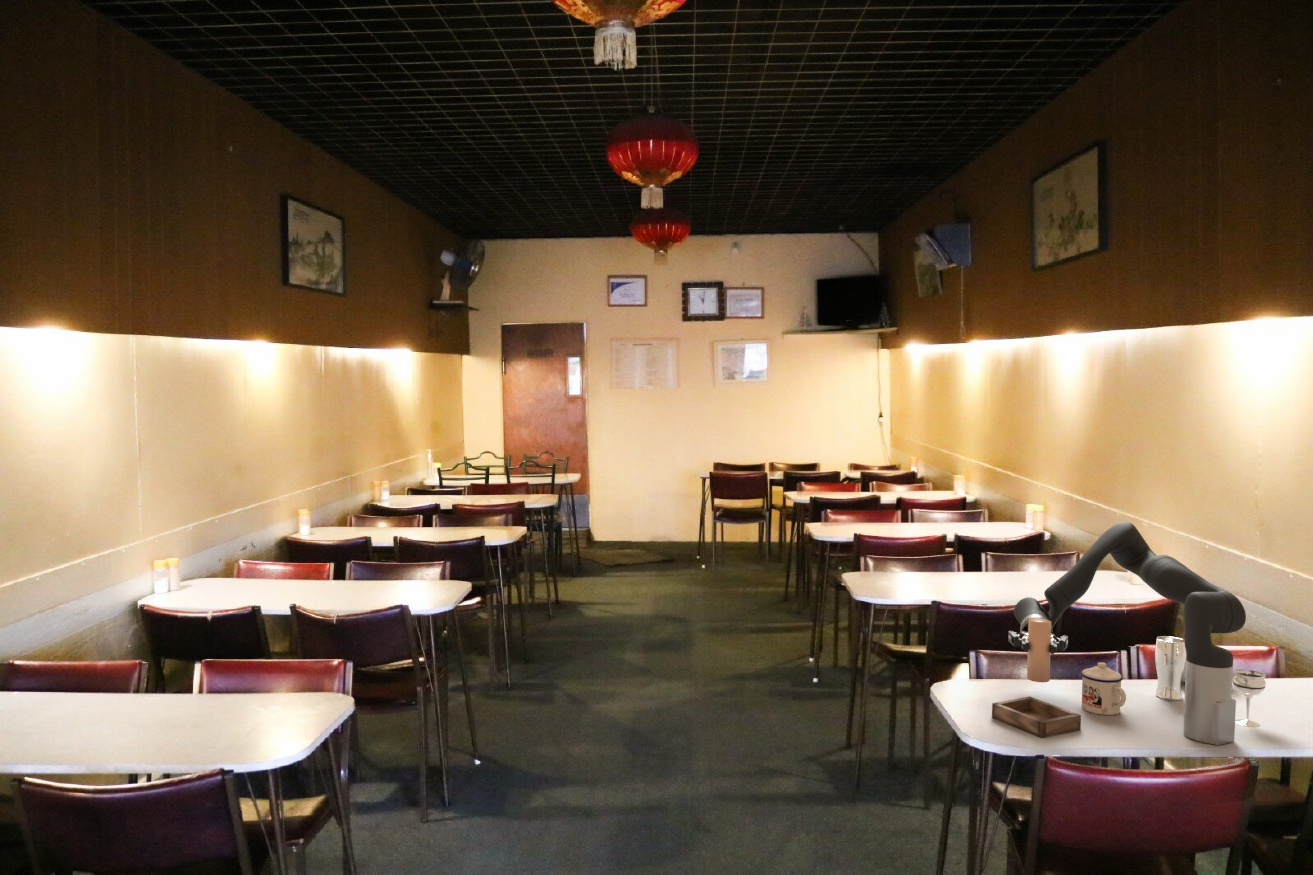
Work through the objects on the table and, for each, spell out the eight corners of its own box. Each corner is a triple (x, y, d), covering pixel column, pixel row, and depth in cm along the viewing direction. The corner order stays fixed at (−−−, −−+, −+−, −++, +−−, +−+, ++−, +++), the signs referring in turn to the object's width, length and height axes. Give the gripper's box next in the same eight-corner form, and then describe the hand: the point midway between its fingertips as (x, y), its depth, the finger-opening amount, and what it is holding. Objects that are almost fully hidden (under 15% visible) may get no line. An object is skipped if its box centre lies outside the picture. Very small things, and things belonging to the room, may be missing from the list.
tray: (1080, 730, 223) (1081, 715, 223) (1042, 738, 218) (1042, 723, 217) (1029, 710, 236) (1029, 696, 236) (991, 717, 231) (992, 703, 231)
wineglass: (1270, 725, 227) (1272, 675, 227) (1254, 730, 224) (1256, 679, 224) (1240, 716, 233) (1242, 667, 233) (1224, 721, 230) (1226, 671, 229)
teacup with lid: (1072, 705, 240) (1073, 659, 240) (1101, 702, 243) (1103, 656, 243) (1108, 721, 229) (1110, 673, 228) (1139, 717, 232) (1140, 670, 231)
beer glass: (1177, 693, 251) (1179, 636, 250) (1189, 701, 244) (1191, 643, 243) (1149, 692, 252) (1151, 635, 251) (1160, 700, 245) (1162, 642, 244)
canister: (1054, 680, 228) (1056, 622, 227) (1038, 683, 226) (1040, 624, 225) (1037, 675, 233) (1039, 617, 232) (1022, 677, 230) (1023, 619, 230)
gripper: (1006, 614, 244) (1007, 630, 228) (1067, 619, 240) (1073, 635, 224) (1005, 643, 245) (1006, 661, 229) (1067, 649, 240) (1072, 667, 224)
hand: (1039, 648), depth 226 cm, fingers closed on canister, 5 cm apart
